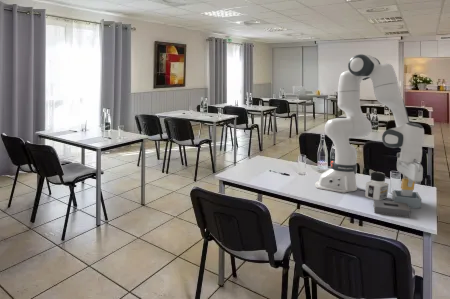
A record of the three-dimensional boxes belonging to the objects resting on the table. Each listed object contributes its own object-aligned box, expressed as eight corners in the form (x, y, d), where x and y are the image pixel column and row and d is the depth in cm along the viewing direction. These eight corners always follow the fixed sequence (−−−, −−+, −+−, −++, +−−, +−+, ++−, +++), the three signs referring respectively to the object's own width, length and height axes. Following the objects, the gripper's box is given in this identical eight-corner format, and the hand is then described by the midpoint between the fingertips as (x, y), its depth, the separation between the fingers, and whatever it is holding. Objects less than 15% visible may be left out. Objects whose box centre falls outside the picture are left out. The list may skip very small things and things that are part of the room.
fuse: (401, 195, 163) (403, 179, 161) (400, 194, 165) (401, 178, 164) (412, 196, 162) (414, 180, 161) (411, 194, 165) (412, 179, 163)
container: (379, 201, 167) (381, 175, 165) (364, 196, 173) (367, 172, 171) (387, 198, 172) (389, 173, 169) (373, 194, 178) (375, 170, 175)
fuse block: (374, 212, 152) (375, 206, 152) (373, 205, 161) (373, 199, 161) (409, 217, 147) (410, 210, 147) (406, 209, 157) (406, 203, 156)
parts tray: (394, 205, 161) (395, 196, 160) (391, 198, 171) (392, 189, 171) (420, 208, 158) (421, 199, 157) (416, 200, 168) (417, 192, 167)
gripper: (428, 162, 150) (424, 192, 152) (408, 153, 170) (405, 179, 172) (413, 162, 150) (410, 191, 153) (395, 152, 170) (392, 179, 173)
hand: (407, 185), depth 163 cm, fingers closed on fuse, 2 cm apart
